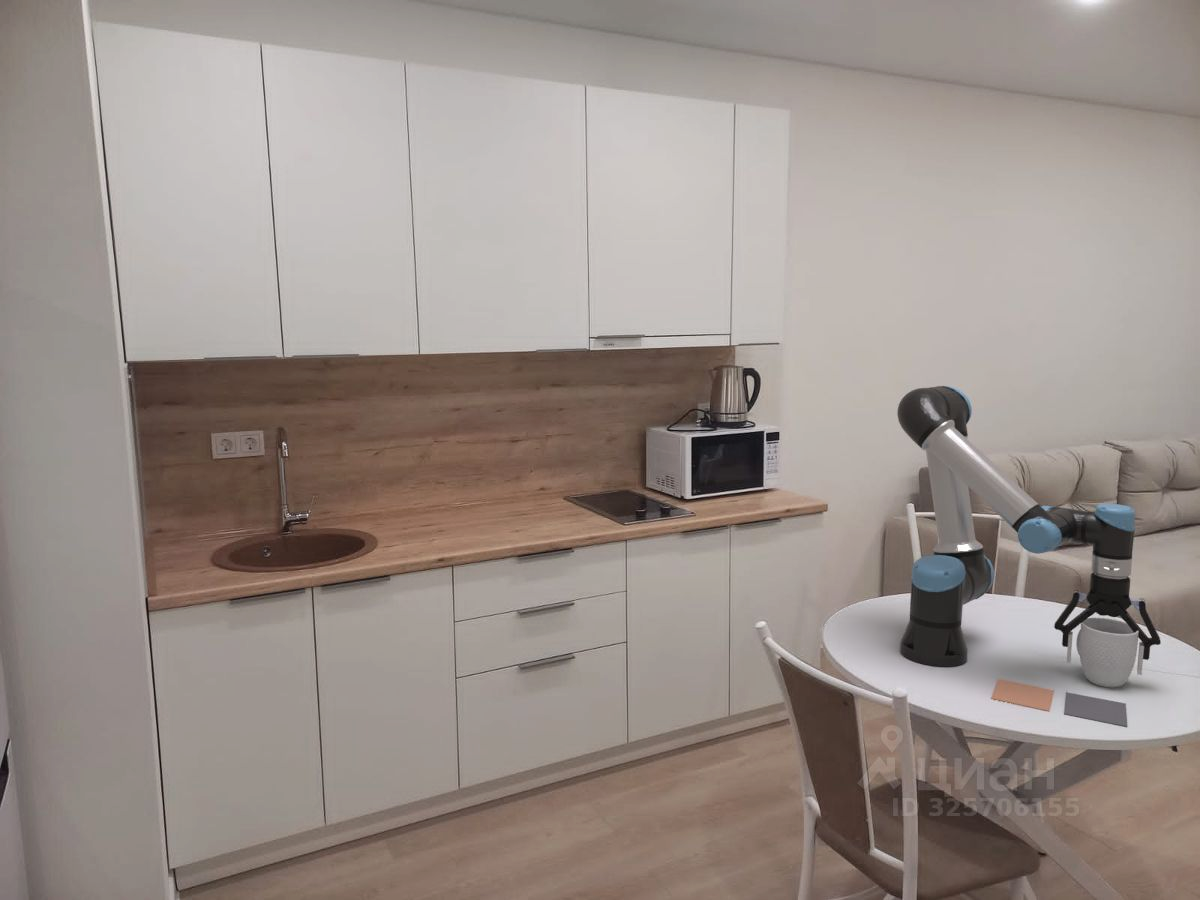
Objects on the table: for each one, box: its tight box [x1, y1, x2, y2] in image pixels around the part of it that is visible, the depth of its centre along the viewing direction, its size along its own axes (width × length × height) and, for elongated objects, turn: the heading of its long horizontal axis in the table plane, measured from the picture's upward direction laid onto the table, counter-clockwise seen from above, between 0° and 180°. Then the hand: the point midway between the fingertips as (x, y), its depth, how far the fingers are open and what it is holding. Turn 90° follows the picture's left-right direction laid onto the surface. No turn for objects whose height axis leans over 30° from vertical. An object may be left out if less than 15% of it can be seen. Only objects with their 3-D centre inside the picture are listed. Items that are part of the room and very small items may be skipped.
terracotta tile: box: [990, 678, 1055, 713], centre depth 180 cm, size 11×12×1 cm
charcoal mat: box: [1063, 691, 1128, 728], centre depth 174 cm, size 11×12×1 cm
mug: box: [1075, 617, 1139, 689], centre depth 188 cm, size 15×11×13 cm
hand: (1103, 666), depth 188 cm, fingers open, 13 cm apart
